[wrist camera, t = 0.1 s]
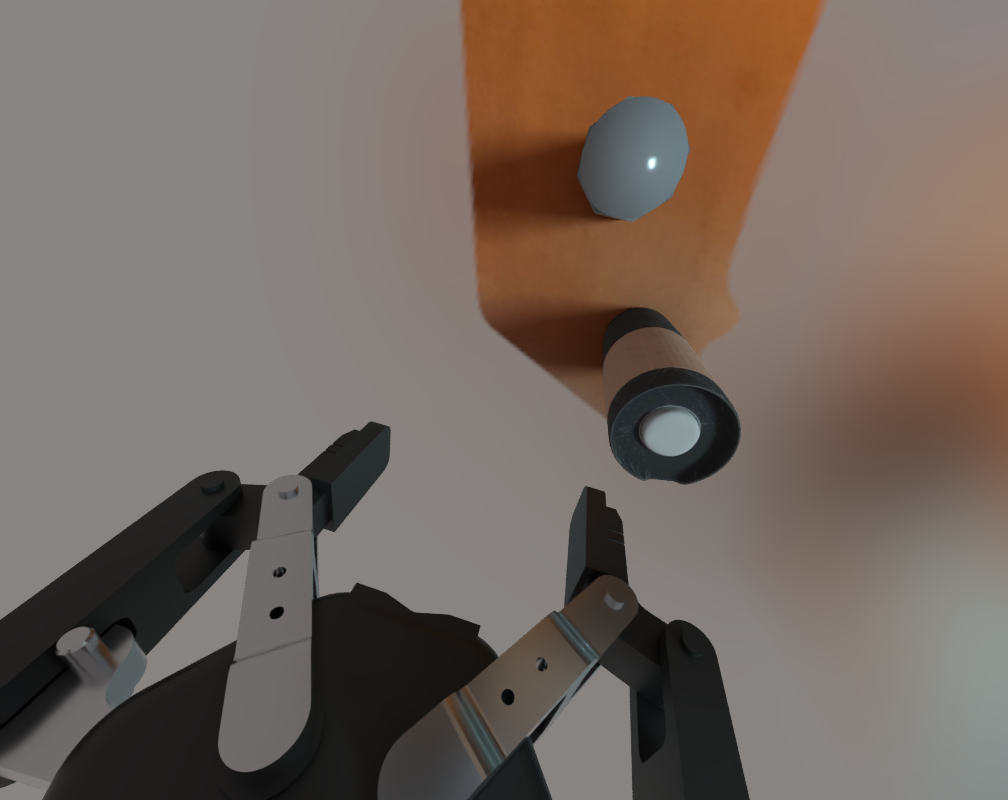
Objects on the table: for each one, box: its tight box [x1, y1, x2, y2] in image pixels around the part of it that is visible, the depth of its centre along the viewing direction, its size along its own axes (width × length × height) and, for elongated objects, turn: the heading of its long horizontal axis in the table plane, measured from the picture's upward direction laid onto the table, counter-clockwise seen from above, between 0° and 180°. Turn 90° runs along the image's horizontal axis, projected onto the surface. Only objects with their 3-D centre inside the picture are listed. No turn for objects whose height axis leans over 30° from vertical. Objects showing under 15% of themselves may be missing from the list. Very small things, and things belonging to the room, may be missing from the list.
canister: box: [577, 96, 690, 222], centre depth 28 cm, size 6×6×12 cm
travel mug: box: [603, 308, 741, 485], centre depth 30 cm, size 8×8×20 cm
